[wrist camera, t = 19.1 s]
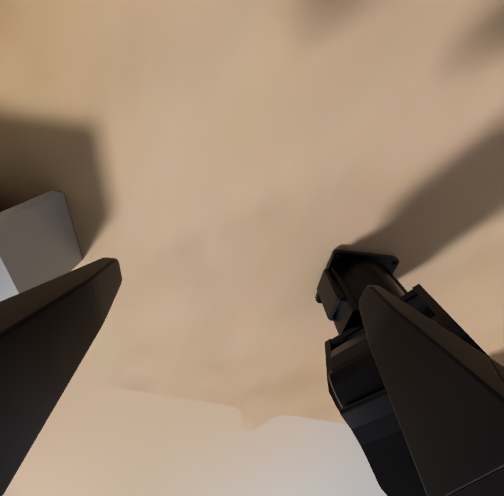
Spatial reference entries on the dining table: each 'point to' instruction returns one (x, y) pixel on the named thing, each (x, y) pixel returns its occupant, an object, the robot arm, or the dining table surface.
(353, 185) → the dining table surface
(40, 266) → the grey cover
